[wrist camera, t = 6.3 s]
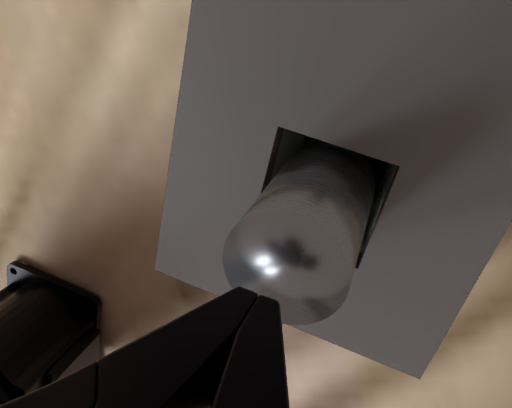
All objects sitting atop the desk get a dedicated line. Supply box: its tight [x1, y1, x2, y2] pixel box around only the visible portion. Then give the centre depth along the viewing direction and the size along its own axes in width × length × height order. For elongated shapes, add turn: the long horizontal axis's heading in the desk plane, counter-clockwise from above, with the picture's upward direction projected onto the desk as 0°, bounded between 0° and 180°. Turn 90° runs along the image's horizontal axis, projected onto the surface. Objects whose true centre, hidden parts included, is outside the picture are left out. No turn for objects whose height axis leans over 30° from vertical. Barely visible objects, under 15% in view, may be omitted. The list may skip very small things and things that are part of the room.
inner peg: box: [223, 139, 376, 325], centre depth 13 cm, size 3×3×6 cm
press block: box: [154, 0, 512, 379], centre depth 15 cm, size 10×18×6 cm, turn 167°
